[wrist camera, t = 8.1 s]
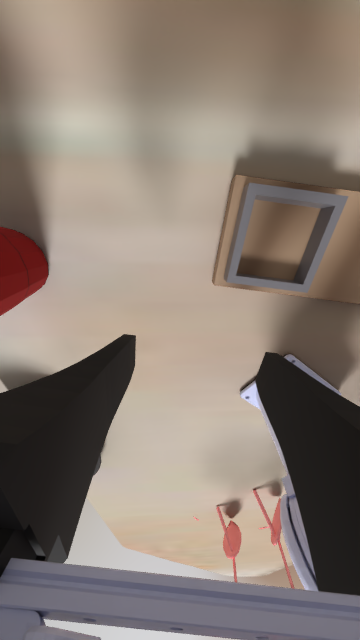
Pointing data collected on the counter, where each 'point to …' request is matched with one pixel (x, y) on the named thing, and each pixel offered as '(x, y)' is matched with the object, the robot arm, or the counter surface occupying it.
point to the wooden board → (293, 243)
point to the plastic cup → (19, 268)
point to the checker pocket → (316, 244)
